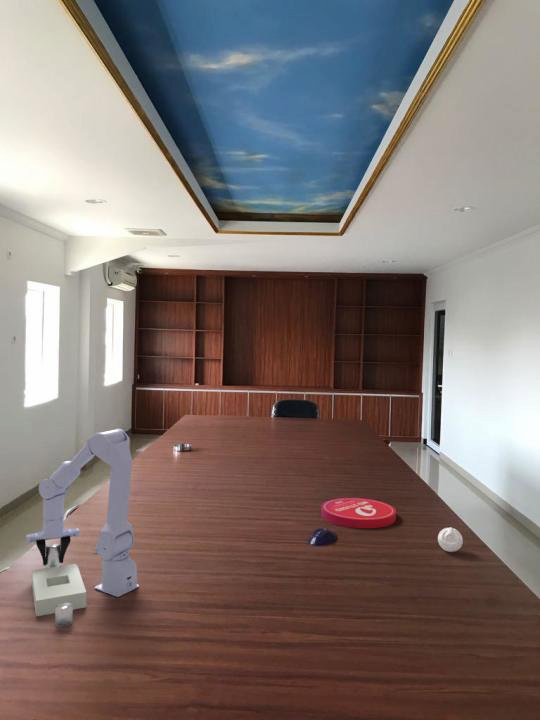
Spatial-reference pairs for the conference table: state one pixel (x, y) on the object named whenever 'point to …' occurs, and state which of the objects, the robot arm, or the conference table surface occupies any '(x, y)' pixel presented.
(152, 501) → the conference table surface
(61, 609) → the short pin
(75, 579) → the pin board
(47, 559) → the tall pin
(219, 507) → the conference table surface
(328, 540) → the computer mouse
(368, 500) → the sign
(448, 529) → the white ball
